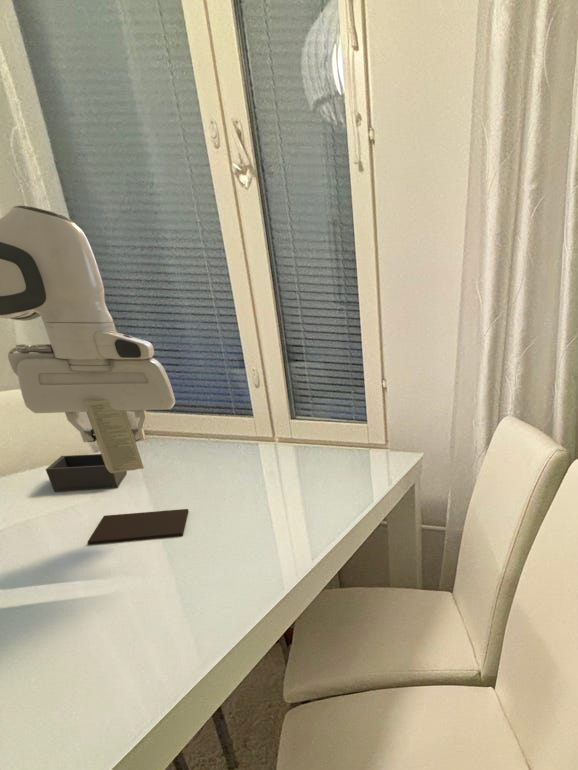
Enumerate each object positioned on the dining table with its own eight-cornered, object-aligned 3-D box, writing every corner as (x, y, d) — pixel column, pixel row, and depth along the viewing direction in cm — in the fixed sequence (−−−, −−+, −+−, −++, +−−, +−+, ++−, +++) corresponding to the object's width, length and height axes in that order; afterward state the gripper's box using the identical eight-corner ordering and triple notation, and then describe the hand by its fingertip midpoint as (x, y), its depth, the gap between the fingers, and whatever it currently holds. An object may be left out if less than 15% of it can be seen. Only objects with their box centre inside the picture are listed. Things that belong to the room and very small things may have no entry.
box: (139, 464, 95) (118, 394, 89) (144, 469, 92) (123, 398, 86) (104, 468, 92) (80, 397, 86) (108, 473, 89) (84, 400, 83)
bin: (54, 491, 114) (45, 469, 111) (68, 476, 124) (61, 455, 121) (117, 487, 117) (110, 465, 115) (127, 473, 127) (120, 452, 125)
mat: (88, 544, 89) (87, 541, 89) (104, 518, 100) (103, 515, 100) (183, 535, 94) (182, 532, 93) (188, 511, 105) (188, 508, 104)
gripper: (-5, 345, 76) (34, 447, 84) (158, 346, 83) (182, 441, 90) (10, 343, 81) (46, 439, 89) (163, 343, 88) (185, 433, 95)
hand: (115, 440), depth 89 cm, fingers closed on box, 6 cm apart
